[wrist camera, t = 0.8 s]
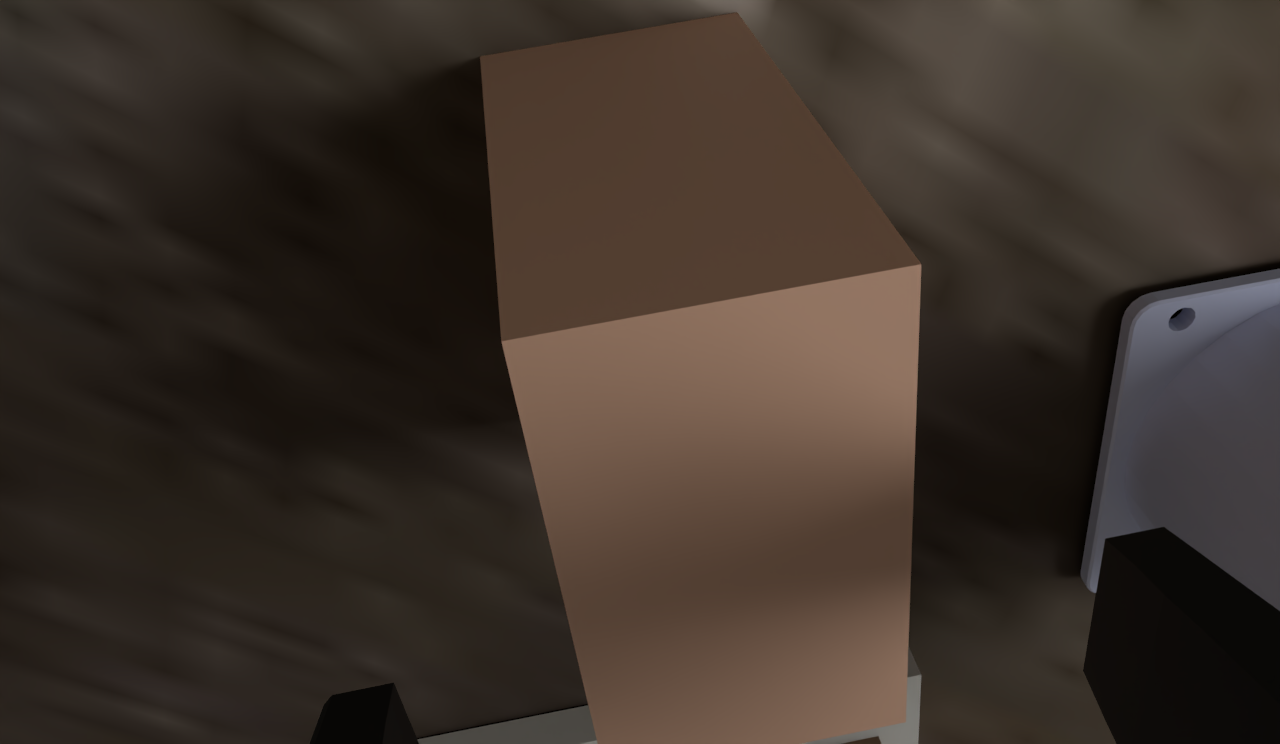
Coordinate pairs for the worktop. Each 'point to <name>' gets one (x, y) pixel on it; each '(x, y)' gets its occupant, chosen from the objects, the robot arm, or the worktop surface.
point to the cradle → (571, 740)
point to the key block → (707, 385)
